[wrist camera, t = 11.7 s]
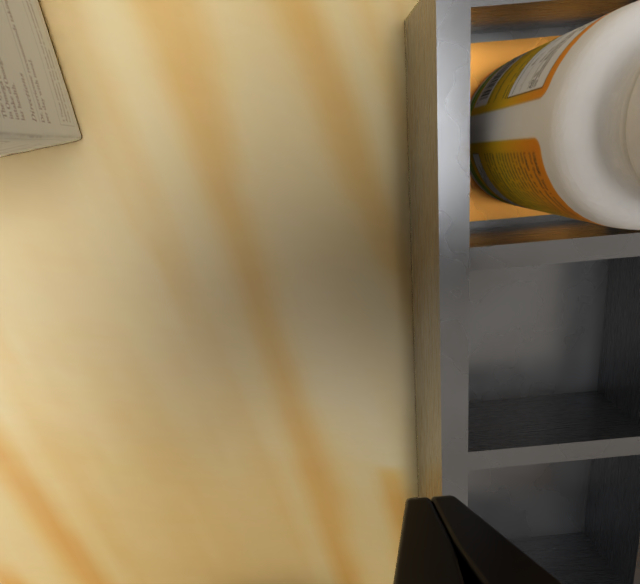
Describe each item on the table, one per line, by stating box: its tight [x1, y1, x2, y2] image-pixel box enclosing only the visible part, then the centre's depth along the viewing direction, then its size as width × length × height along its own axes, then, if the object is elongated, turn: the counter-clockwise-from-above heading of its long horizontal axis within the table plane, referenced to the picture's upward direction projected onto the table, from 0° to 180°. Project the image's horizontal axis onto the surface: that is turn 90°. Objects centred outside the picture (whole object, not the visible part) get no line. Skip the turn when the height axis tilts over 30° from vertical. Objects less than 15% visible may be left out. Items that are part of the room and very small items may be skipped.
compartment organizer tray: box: [404, 0, 640, 584], centre depth 19 cm, size 24×9×4 cm, turn 5°
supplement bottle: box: [470, 0, 640, 230], centre depth 13 cm, size 5×5×10 cm
